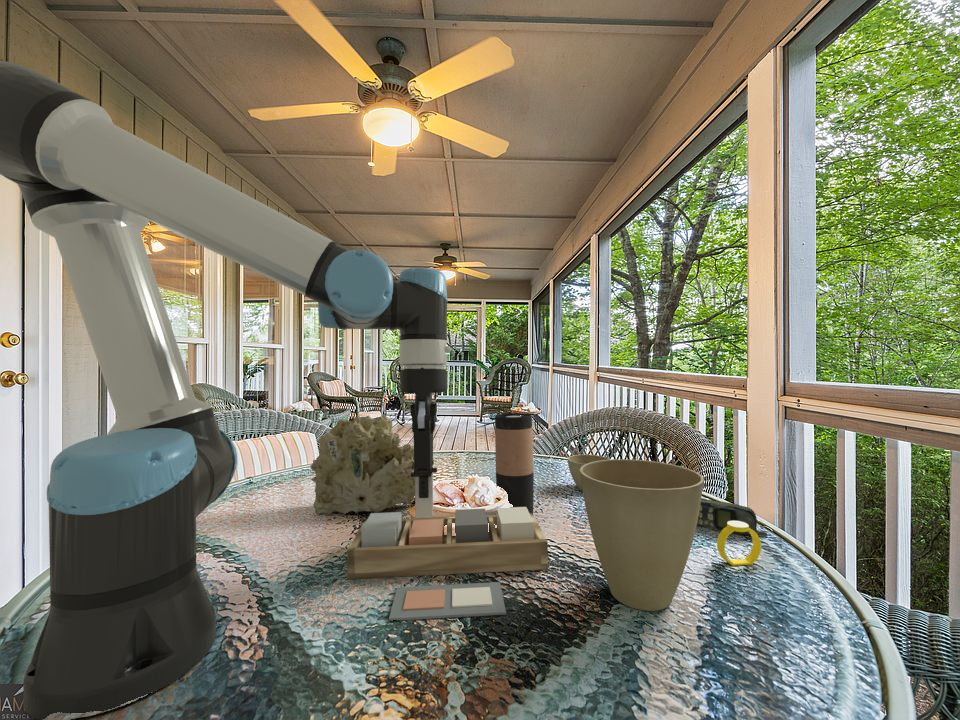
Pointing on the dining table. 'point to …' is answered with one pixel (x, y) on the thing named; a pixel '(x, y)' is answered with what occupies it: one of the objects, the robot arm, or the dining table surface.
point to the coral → (362, 467)
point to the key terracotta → (427, 532)
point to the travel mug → (515, 458)
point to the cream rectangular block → (515, 524)
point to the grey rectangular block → (471, 526)
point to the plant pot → (642, 526)
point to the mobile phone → (726, 516)
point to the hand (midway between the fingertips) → (424, 515)
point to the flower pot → (578, 461)
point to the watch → (739, 527)
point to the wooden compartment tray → (447, 554)
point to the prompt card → (447, 601)
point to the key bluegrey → (382, 529)
